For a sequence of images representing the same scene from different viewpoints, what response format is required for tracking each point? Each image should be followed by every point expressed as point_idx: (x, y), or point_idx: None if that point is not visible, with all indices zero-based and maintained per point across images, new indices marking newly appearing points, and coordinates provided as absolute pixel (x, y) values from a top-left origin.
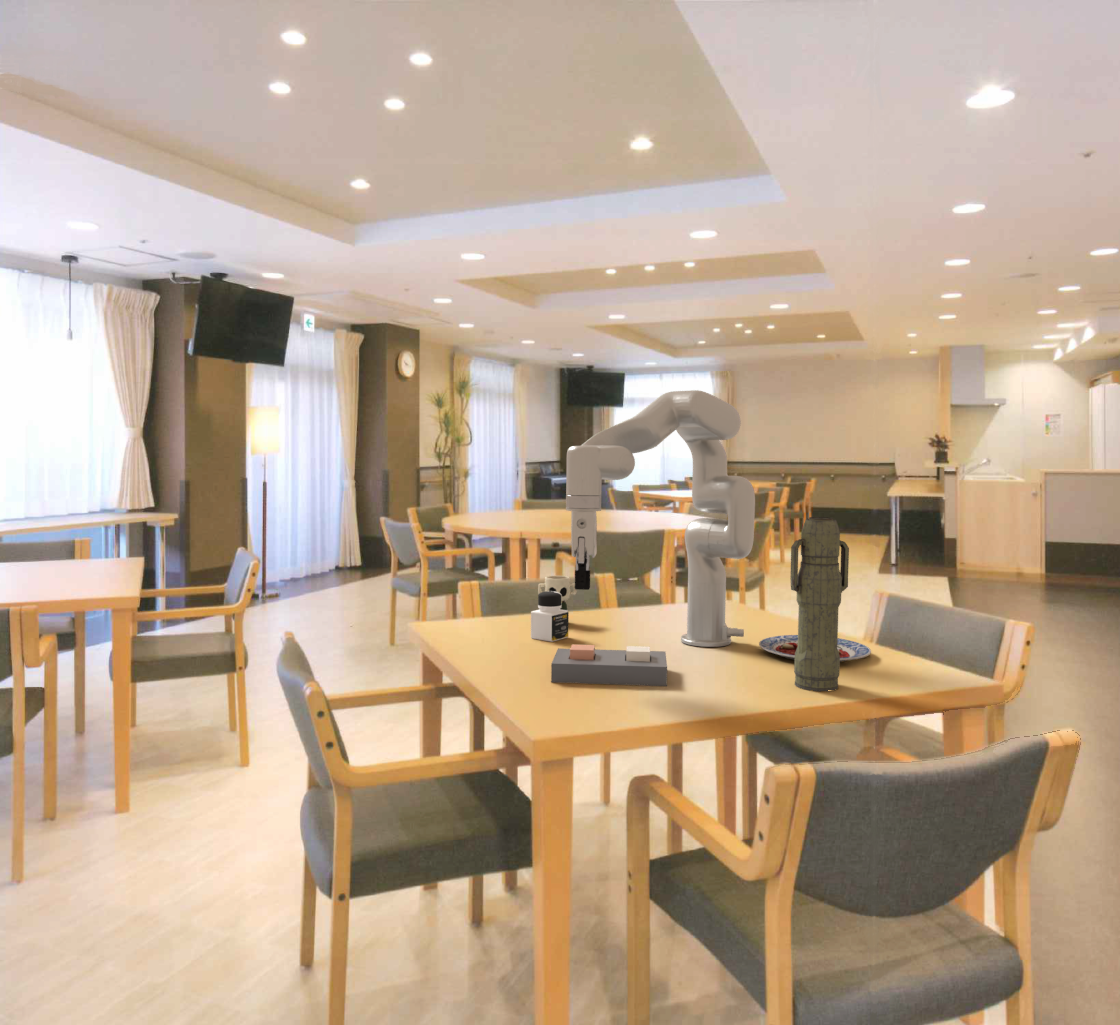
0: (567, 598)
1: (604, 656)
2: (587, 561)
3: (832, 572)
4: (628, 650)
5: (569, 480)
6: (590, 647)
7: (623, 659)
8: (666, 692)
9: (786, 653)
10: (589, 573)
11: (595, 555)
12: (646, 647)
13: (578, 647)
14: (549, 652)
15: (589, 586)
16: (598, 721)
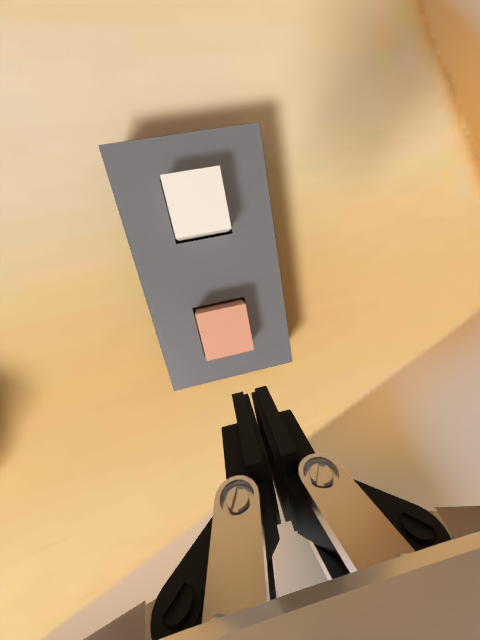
0: None
1: (209, 285)
2: (394, 533)
3: None
4: (222, 224)
5: None
6: (221, 316)
7: (222, 238)
8: (293, 139)
9: None
10: (291, 440)
11: (449, 560)
12: (173, 183)
13: (229, 340)
14: (84, 420)
15: (267, 391)
16: (451, 227)
